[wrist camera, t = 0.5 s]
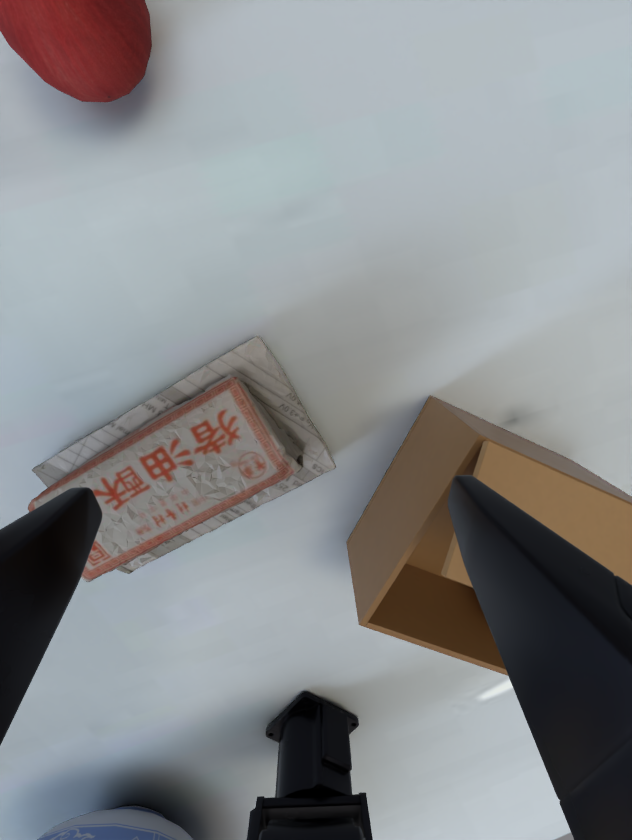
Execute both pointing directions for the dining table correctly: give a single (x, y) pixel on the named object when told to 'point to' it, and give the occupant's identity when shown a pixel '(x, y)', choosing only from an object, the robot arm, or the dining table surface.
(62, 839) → the ramen bowl
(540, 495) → the flap
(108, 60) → the onion
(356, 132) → the dining table surface
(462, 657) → the carton
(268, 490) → the packaged product
